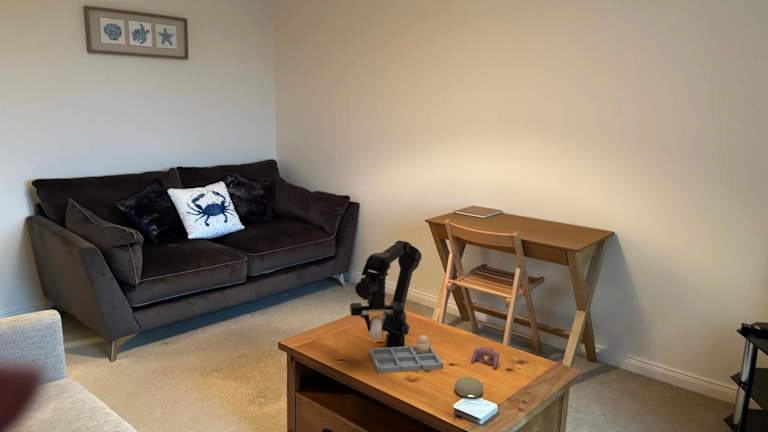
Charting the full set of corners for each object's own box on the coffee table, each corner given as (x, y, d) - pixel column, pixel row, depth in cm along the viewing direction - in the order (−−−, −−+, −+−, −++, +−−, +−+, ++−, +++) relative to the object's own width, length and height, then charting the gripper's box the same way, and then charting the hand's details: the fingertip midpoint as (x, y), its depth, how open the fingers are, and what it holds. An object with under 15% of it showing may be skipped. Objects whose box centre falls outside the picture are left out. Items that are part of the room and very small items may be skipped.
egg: (380, 333, 216) (381, 313, 214) (382, 338, 211) (383, 318, 210) (368, 334, 215) (369, 313, 213) (370, 339, 211) (370, 318, 209)
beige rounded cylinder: (426, 351, 224) (427, 332, 223) (430, 357, 220) (431, 337, 218) (414, 352, 223) (415, 333, 222) (418, 357, 219) (419, 338, 217)
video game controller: (498, 370, 216) (501, 350, 217) (496, 369, 212) (499, 349, 213) (472, 364, 220) (475, 345, 221) (469, 363, 216) (472, 344, 217)
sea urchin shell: (478, 397, 189) (463, 376, 191) (461, 408, 193) (447, 387, 195) (489, 386, 197) (475, 366, 198) (473, 396, 201) (459, 376, 202)
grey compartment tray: (430, 350, 227) (430, 344, 226) (443, 369, 211) (443, 363, 211) (369, 354, 222) (369, 348, 221) (377, 374, 206) (378, 368, 206)
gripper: (398, 282, 219) (397, 321, 222) (348, 283, 216) (347, 323, 219) (404, 292, 208) (402, 333, 211) (351, 293, 205) (350, 335, 208)
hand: (375, 331), depth 213 cm, fingers closed on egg, 5 cm apart
